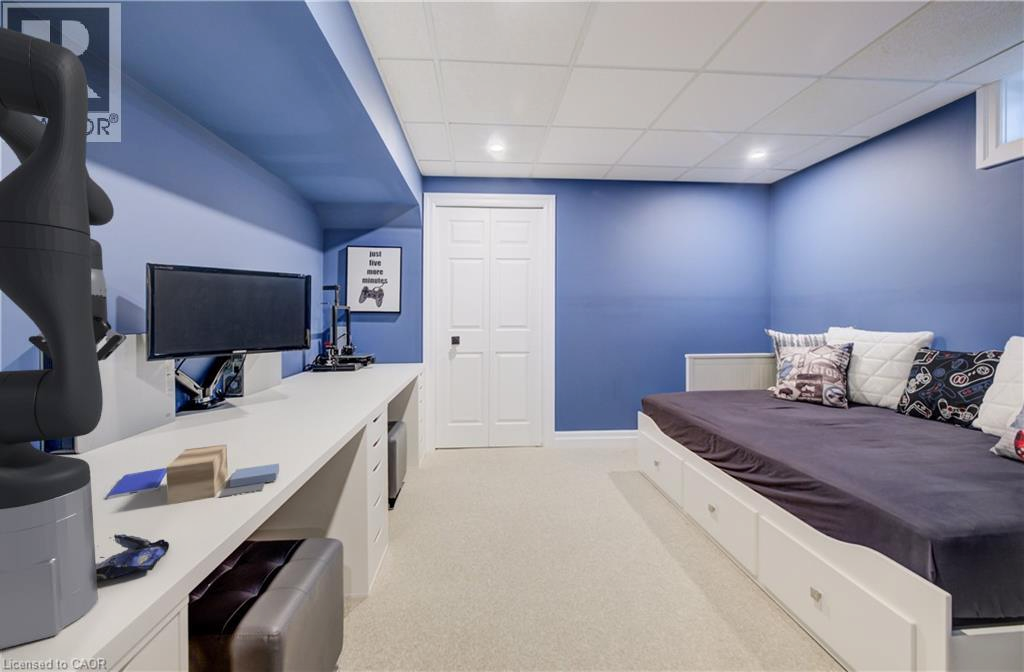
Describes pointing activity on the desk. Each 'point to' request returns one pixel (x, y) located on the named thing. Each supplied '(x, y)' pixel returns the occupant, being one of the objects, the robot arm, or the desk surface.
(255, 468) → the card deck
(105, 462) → the desk surface
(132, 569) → the snack package
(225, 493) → the rubber mat
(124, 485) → the hard drive
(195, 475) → the oak step
